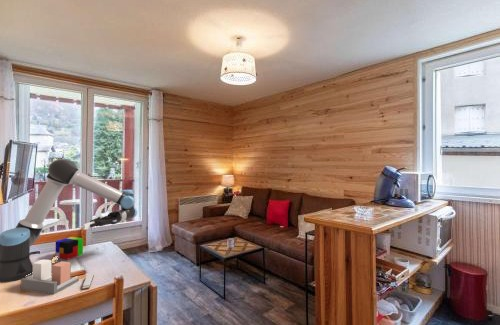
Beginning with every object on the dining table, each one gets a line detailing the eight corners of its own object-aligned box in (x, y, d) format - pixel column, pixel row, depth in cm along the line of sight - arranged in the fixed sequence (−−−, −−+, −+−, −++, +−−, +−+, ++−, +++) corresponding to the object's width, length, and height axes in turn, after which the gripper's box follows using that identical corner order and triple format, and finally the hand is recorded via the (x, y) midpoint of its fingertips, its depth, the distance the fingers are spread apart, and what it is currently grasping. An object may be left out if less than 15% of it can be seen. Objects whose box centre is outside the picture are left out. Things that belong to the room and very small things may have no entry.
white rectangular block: (44, 276, 126) (44, 258, 126) (52, 277, 125) (52, 259, 125) (32, 281, 121) (32, 263, 121) (41, 283, 120) (41, 264, 120)
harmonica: (86, 277, 131) (86, 274, 131) (93, 276, 132) (93, 273, 132) (81, 291, 117) (81, 287, 117) (89, 290, 119) (89, 285, 119)
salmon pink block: (62, 279, 124) (62, 260, 124) (71, 280, 123) (71, 261, 123) (51, 284, 119) (51, 265, 119) (60, 285, 118) (60, 266, 118)
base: (48, 277, 130) (48, 267, 130) (78, 281, 126) (78, 271, 126) (20, 289, 117) (21, 279, 117) (53, 294, 113) (54, 283, 113)
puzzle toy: (55, 257, 156) (55, 241, 156) (71, 252, 165) (71, 236, 165) (67, 259, 153) (67, 243, 153) (82, 254, 162) (83, 238, 162)
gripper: (125, 223, 155) (93, 235, 132) (107, 222, 158) (73, 233, 135) (125, 211, 155) (93, 220, 132) (107, 210, 158) (73, 219, 135)
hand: (83, 227), depth 134 cm, fingers closed
